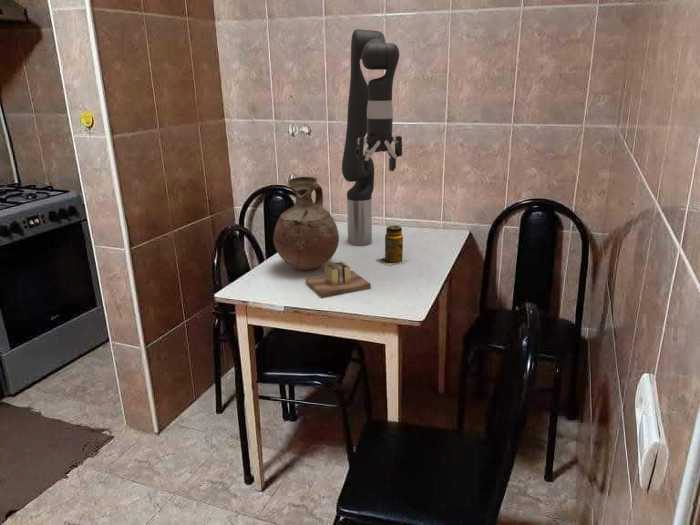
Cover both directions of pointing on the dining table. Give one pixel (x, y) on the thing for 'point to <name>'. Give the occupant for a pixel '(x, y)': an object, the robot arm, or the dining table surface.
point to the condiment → (393, 246)
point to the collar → (332, 274)
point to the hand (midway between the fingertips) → (379, 171)
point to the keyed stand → (326, 289)
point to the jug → (306, 228)
